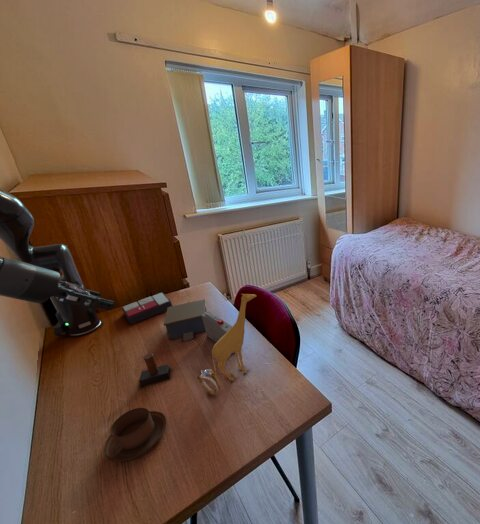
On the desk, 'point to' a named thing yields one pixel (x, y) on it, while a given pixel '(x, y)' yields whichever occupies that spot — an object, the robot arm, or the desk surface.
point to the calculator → (146, 307)
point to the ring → (205, 375)
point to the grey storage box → (185, 318)
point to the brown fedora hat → (134, 434)
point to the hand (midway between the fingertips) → (105, 301)
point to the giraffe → (232, 340)
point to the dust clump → (188, 336)
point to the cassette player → (215, 326)
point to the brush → (154, 372)
